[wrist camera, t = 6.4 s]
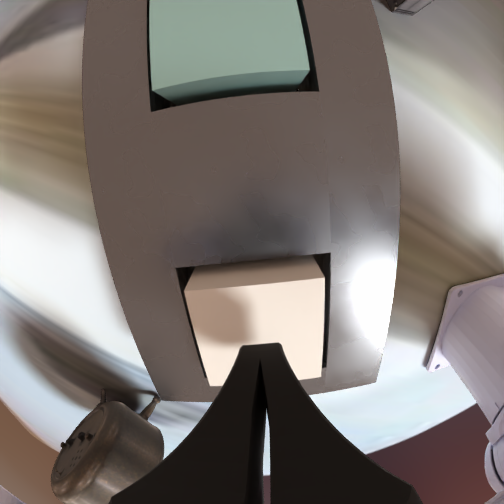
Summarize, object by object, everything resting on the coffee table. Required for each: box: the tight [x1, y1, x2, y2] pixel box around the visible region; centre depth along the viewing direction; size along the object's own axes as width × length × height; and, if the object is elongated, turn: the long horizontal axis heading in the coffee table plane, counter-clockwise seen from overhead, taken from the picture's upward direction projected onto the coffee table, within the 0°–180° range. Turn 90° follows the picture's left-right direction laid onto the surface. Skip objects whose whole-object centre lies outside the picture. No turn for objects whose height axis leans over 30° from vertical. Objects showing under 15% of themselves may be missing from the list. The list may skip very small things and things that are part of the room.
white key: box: [184, 254, 325, 386], centre depth 12 cm, size 5×5×4 cm
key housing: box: [82, 0, 400, 402], centre depth 11 cm, size 12×22×4 cm, turn 6°
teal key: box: [149, 0, 310, 106], centre depth 8 cm, size 5×5×4 cm
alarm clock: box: [51, 389, 164, 504], centre depth 12 cm, size 11×5×16 cm, turn 131°
